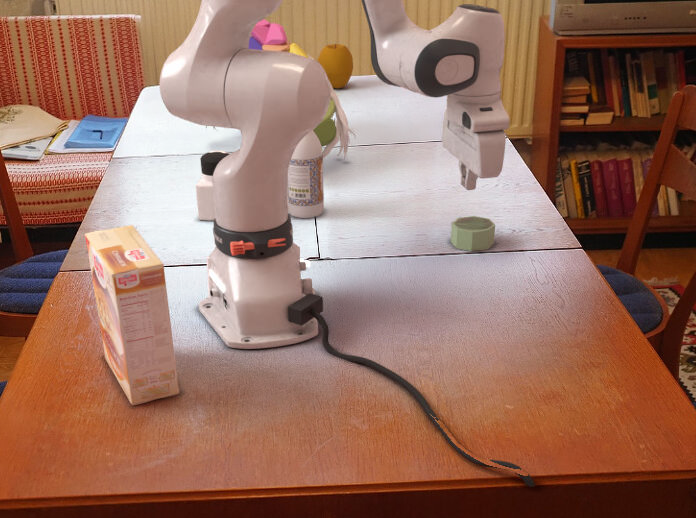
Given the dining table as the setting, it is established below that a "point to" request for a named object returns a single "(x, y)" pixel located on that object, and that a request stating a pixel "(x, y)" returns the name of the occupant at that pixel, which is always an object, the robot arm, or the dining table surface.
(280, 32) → the colorful pinata
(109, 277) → the coffeecake box
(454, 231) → the tin
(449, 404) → the dining table surface
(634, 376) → the dining table surface
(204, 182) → the medicine bottle
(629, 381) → the dining table surface
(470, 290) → the dining table surface
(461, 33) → the robot arm
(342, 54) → the apple
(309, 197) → the bath foam
